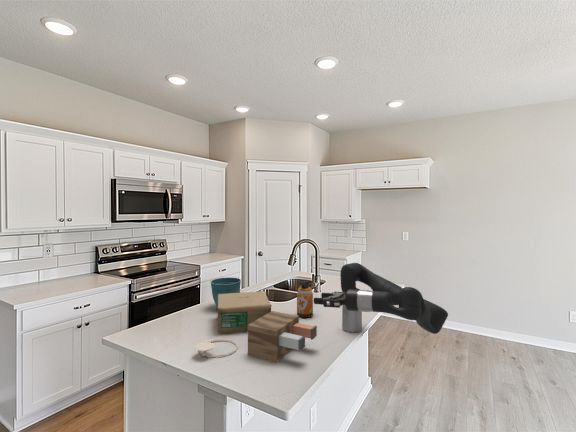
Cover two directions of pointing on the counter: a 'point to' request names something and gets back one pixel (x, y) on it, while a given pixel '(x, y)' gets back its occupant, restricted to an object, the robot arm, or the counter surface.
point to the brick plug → (304, 330)
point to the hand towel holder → (208, 346)
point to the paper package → (240, 310)
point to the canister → (305, 300)
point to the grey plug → (292, 341)
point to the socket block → (270, 335)
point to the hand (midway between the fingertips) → (317, 298)
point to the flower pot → (224, 287)
